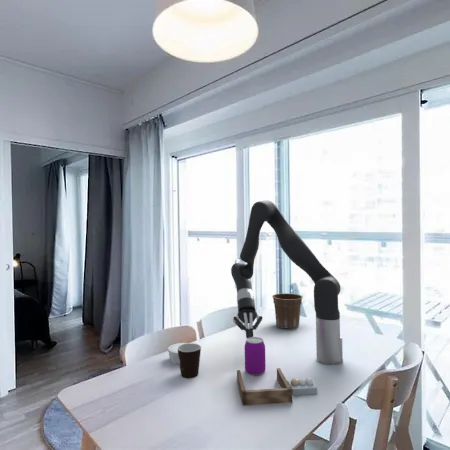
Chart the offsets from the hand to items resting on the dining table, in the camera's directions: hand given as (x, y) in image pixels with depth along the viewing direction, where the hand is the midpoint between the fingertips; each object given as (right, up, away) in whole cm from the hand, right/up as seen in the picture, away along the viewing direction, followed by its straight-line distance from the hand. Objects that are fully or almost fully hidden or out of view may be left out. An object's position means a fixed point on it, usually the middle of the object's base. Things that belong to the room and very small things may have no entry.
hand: (250, 338), depth 131 cm
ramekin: (-28, -10, +2) cm, 30 cm away
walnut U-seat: (+2, -9, -24) cm, 25 cm away
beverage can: (+1, -9, -10) cm, 13 cm away
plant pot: (+24, -9, +45) cm, 52 cm away
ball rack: (+15, -9, -24) cm, 29 cm away
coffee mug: (-23, -9, -10) cm, 27 cm away
